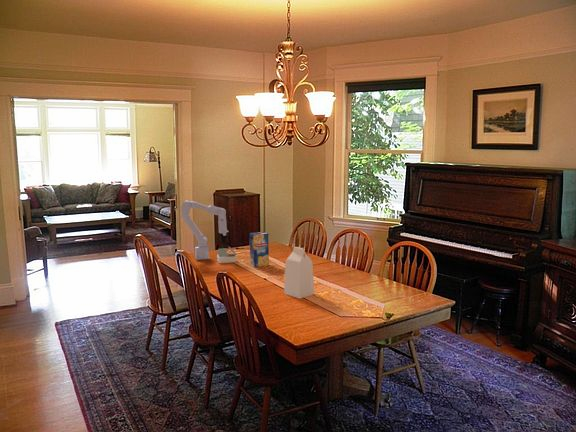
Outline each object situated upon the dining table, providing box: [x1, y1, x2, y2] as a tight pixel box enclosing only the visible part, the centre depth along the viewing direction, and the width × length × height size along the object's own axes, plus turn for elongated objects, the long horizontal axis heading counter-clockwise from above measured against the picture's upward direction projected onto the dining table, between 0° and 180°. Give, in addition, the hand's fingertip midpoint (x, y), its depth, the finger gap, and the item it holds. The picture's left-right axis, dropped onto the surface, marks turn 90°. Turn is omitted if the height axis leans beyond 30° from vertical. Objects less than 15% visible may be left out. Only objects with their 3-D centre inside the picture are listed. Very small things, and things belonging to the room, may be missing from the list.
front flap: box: [217, 247, 228, 257], centre depth 334 cm, size 6×6×1 cm
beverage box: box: [249, 231, 270, 268], centre depth 325 cm, size 7×11×22 cm, turn 119°
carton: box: [216, 253, 237, 264], centre depth 338 cm, size 12×9×4 cm
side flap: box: [227, 246, 237, 256], centre depth 338 cm, size 6×8×1 cm
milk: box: [283, 246, 315, 299], centre depth 262 cm, size 12×12×26 cm
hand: (223, 243), depth 347 cm, fingers closed
